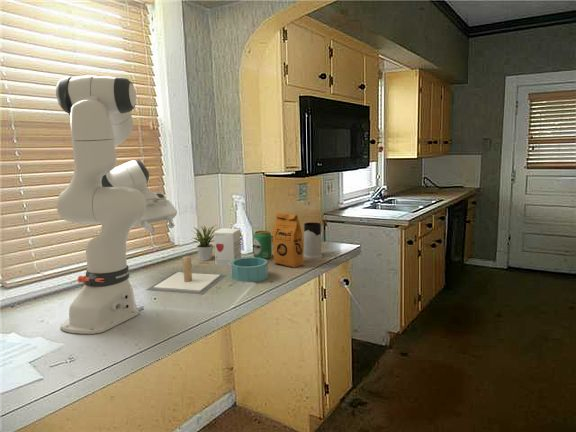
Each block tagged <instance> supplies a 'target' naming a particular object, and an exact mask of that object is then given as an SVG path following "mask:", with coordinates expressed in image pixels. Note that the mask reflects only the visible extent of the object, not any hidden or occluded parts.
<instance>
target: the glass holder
mask: <svg viewBox="0 0 576 432" xmlns="http://www.w3.org/2000/svg"><path fill="white" fill-rule="evenodd" d="M303 229H304V231H303V258H306V259H320V258H322V257H323V255H322V240H323V235H324V224H322V223H320V222H314V221H313V222H305V223H304V225H303Z"/></svg>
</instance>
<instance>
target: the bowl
mask: <svg viewBox="0 0 576 432" xmlns="http://www.w3.org/2000/svg"><path fill="white" fill-rule="evenodd" d="M230 264H231V266H230V278H231V279H232V280H234V281H237V282H247V283H248V282H249V283H250V282H253V283H259V282H262V281H266V279H268V277H269V262H268V260H266V259H262V258H255V257H253V256H252V257H251V256H250V257H248V256H247V257H241V258H240V259H236V260H233V261H232V262H230Z"/></svg>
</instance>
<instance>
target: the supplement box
mask: <svg viewBox="0 0 576 432" xmlns="http://www.w3.org/2000/svg"><path fill="white" fill-rule="evenodd" d="M213 235H214V237H213V242H214V264H215V266H229V267H231V264H230V262H232V261H233V260H236V259H240V258H242V248H241V247H242V244H241V240H242V239H241V228H228V227H227V228H226V227H225V228H224V227H223V228H222V227H220V228H218V229H216V230H215V231H214V232H213Z"/></svg>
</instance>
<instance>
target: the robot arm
mask: <svg viewBox="0 0 576 432" xmlns="http://www.w3.org/2000/svg"><path fill="white" fill-rule="evenodd" d="M55 96H56V100H57V103H58V106H59V107H60V108H61V109H62V110H63V111H64V112H65V113H67V114H68V115H69V116H70V117H69V118H70V137H71V145H72V153H73V161H74V162H73V165H74V168H73V175H72V177H71V181H70V182H69V184H68V186H66V188H65V189H64V190H62V191H61V193H60V194H59V195H58V198H57V200H56V210H57V214H59V217H60V218H61V219H62V220H64V221H66V222H70V223H75V224H80V225H81V224H83V225H85V224H86V225H87V224H88V225H89V224H91V225H94V224H95V225H101V230H100V234H98V235H96V236H94V237H93V238H91V239H90V240H89V241H88V242H87V244H86V247H85V257H86V266H87V270H86V272H85V275H78V277H77V282H78V283H83V284H84V286H83V287H82V288H81V290H80V291H79V293H78V294H77V296H76V297H75V299H73V301H72V303H71V304H70V306H69V309H68V311H69V312H68V315H69V316H68V318H67V320H65V321H64V322H63V323H61V324H60V325H59V326H60V330H61V331H63V332H67V333H72V334H81V335H90V334H91V335H93V334H100V333H104V332H106V331H108V330H110V329H113V328H114V327H116V326H118V325H120V324H122V323H124V322H126V321H128V320H130V319H132V318H134V317H136V316H138V315H139V314H140V310H139V308H137V306H136V301H135V300H136V299H135V295H134V289H133V286H132V284H131V283H130V280H129V278H130V269H129V265H128V263H127V240H128V236H129V234H130V232H131V230H132V228H133V227H134V228H135V227H139V226H142V227H143V228H144V229H145V230H147V231H148V232H149V234H152V233H155V231H156V228H155V227H154V225H153V226H151V225H150V224H155V223H158V222H163V221H167V222H168V225H167V226H168V227H169V229H172V228H174V227H175V223H174V221H173V220H174V218H175V217H176V216H177V213H178V211H177V209H176V207H175V206H174V205H173V203H172V202H171V201H170V200H168V199H167V196H166V195H165V193H158V192H155V191H151V189H150V188H148V186H147V185H148V182H149V179H150V172H149V171H148V169H147V167H146V166H145V164H144V163H143V162H141V161H140V160H137V159H132V160H129V161H127V162H124V163H122V164H120V165H118V166H116V165H117V161H118V160H117V154H116V153H117V152H116V148H118V146H119V145H120V144H122V143H124V142H125V141H126V140H127V139H128V138H129V137H130V136H131V134H132V132H133V130H134V120H133V117H132V113H131V112H132V111H133V110H134V109H135V108H136V103H137V92H136V89H135V87H134V83H132V81H131V80H129V79H128V78H126V77H122V76H116V77H114V76H102V75H99V76H97V75H80V76H66V77H63V78H61V79H59V81H57V84H56V87H55Z"/></svg>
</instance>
